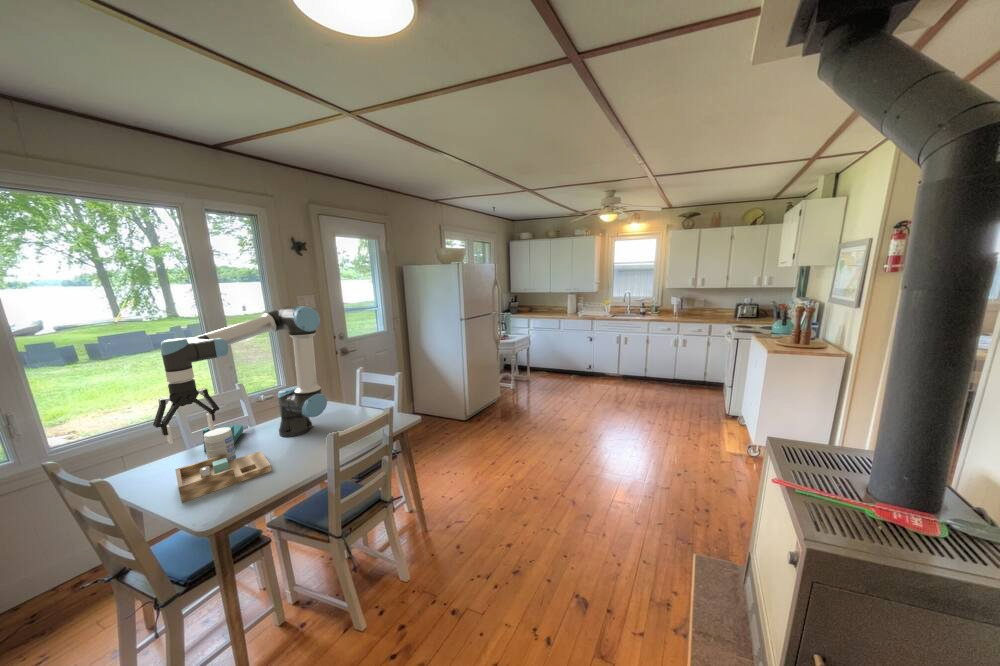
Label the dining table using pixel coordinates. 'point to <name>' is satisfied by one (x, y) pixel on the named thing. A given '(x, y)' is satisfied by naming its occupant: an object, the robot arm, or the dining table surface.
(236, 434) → the teal l-shaped bracket
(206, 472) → the silver metal knob
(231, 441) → the supplement tub
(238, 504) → the dining table surface
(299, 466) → the dining table surface
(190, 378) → the robot arm
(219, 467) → the cube
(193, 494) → the wooden tray
